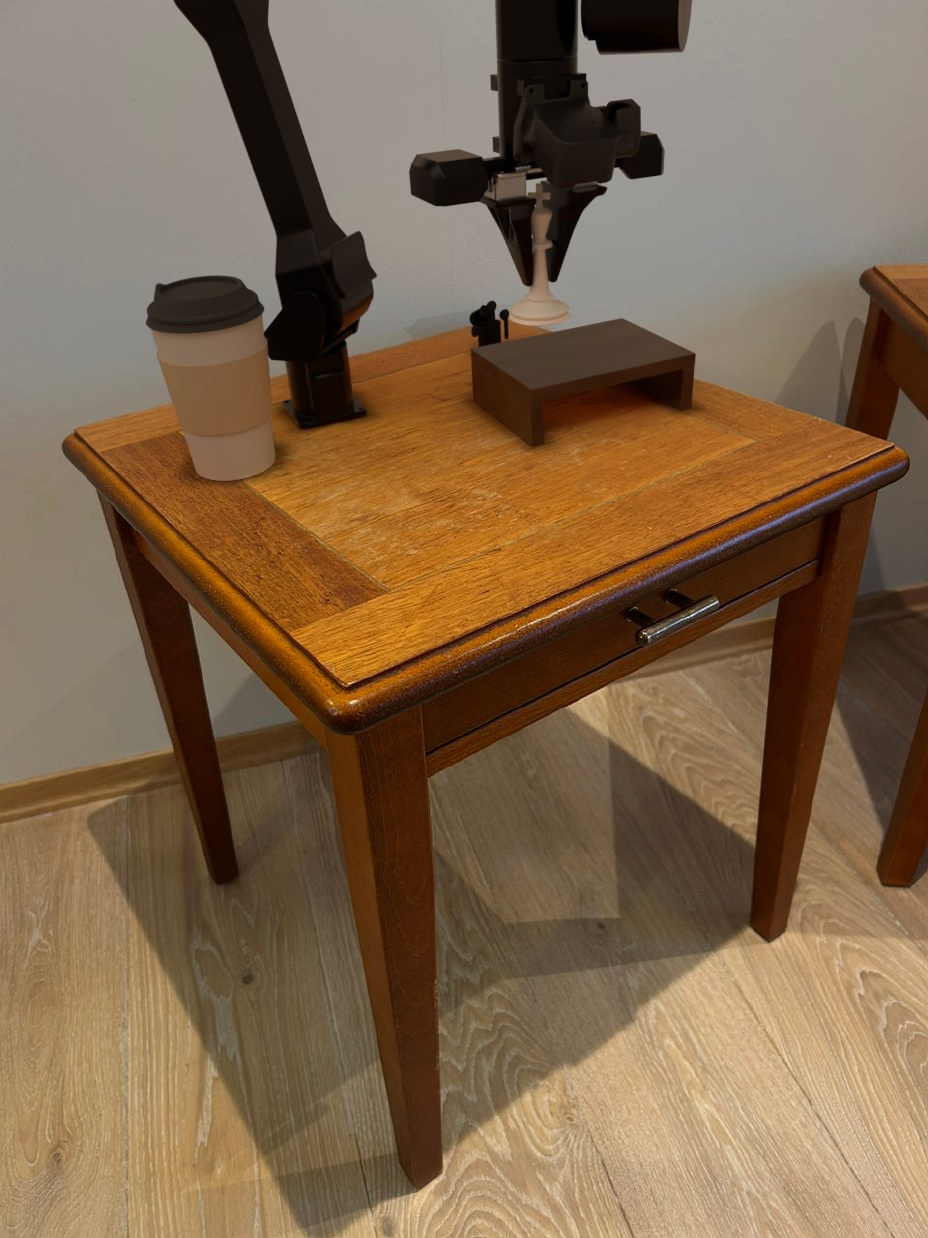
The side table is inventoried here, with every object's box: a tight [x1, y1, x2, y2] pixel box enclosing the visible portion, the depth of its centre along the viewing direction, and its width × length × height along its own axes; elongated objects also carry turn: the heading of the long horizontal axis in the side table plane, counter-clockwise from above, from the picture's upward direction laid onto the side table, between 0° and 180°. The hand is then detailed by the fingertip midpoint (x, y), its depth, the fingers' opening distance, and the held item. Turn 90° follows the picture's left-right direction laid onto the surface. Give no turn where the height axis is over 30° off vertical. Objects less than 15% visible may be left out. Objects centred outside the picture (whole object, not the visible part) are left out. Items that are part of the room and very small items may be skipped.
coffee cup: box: [145, 274, 276, 482], centre depth 78 cm, size 9×9×15 cm
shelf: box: [470, 317, 697, 447], centre depth 87 cm, size 12×16×5 cm
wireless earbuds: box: [468, 300, 510, 347], centre depth 100 cm, size 7×2×5 cm, turn 147°
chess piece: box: [508, 182, 571, 327], centre depth 76 cm, size 5×5×10 cm
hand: (539, 283), depth 77 cm, fingers closed on chess piece
